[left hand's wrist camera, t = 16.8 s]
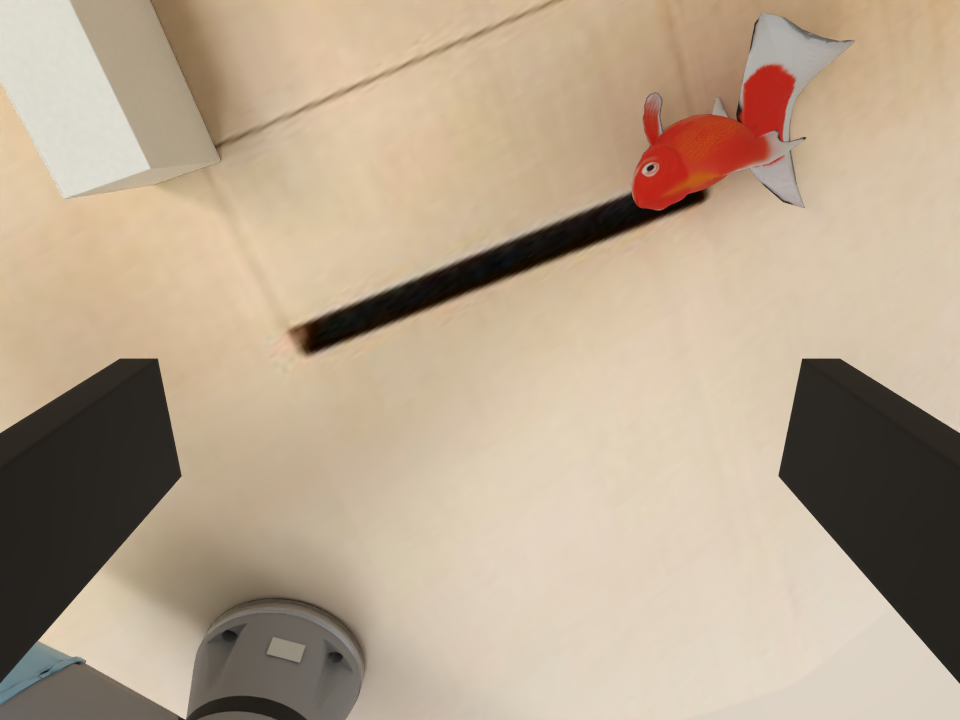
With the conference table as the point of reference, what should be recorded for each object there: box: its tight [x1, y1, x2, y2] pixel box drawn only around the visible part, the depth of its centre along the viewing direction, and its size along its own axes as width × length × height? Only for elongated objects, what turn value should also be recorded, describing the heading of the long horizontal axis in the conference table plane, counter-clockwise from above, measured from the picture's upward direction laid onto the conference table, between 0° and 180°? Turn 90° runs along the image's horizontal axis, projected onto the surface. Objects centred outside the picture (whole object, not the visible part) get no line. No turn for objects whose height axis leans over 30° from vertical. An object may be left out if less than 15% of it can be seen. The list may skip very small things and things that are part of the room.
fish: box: [632, 13, 854, 210], centre depth 36 cm, size 11×16×10 cm
